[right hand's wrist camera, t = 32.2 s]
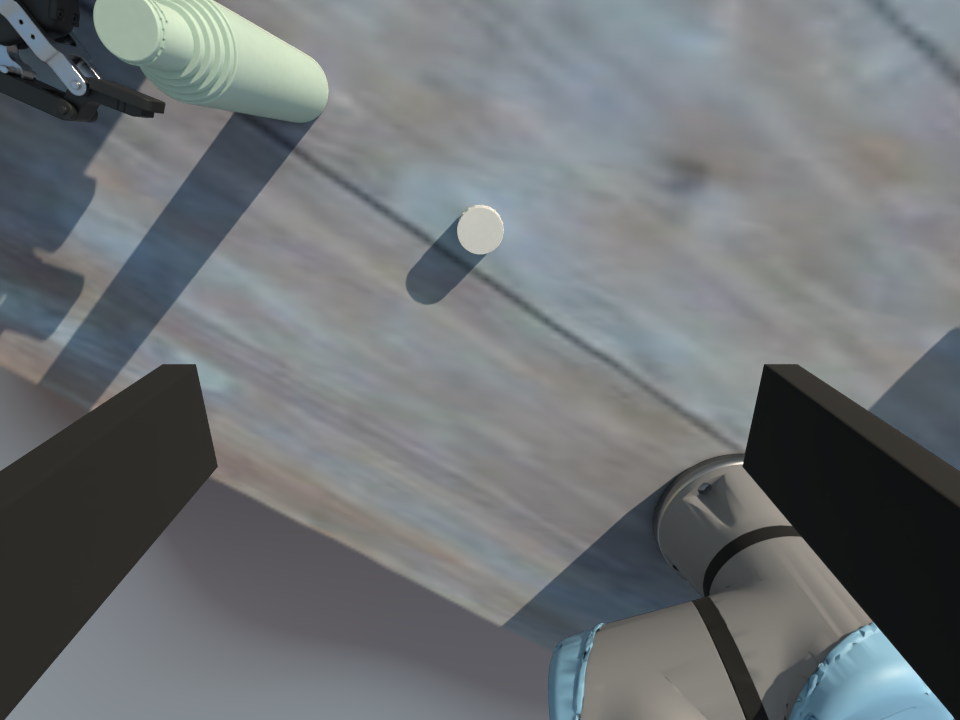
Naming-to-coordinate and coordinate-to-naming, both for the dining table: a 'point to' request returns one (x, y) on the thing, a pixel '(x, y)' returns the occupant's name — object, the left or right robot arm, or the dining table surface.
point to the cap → (480, 229)
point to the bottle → (212, 57)
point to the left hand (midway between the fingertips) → (169, 38)
